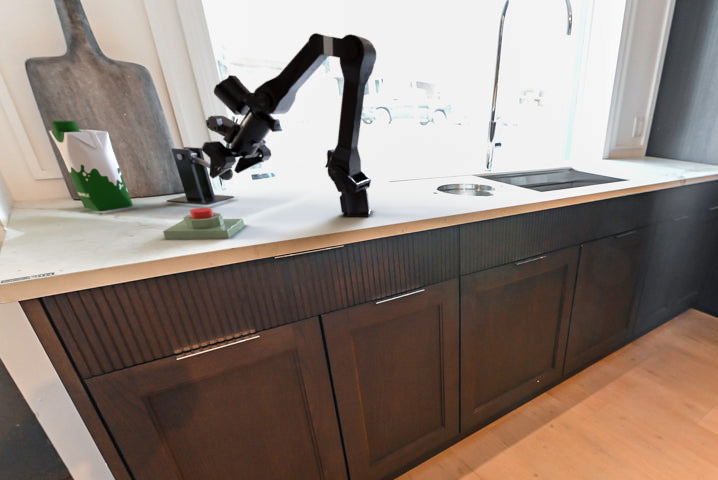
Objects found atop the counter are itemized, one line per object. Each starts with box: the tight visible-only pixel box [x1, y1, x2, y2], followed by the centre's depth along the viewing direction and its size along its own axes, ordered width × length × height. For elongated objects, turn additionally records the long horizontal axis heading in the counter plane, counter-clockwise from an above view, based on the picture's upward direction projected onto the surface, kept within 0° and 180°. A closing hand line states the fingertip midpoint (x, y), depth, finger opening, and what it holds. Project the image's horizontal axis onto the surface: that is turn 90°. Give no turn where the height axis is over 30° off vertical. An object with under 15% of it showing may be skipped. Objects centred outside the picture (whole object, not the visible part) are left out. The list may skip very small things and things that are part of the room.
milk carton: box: [48, 120, 134, 215], centre depth 102 cm, size 9×9×20 cm
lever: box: [190, 150, 234, 181], centre depth 112 cm, size 13×4×4 cm, turn 82°
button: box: [189, 207, 214, 219], centre depth 91 cm, size 4×4×2 cm
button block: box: [162, 212, 246, 240], centre depth 92 cm, size 12×10×4 cm
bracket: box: [166, 146, 235, 206], centre depth 114 cm, size 12×10×14 cm
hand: (224, 174), depth 112 cm, fingers open, 9 cm apart
